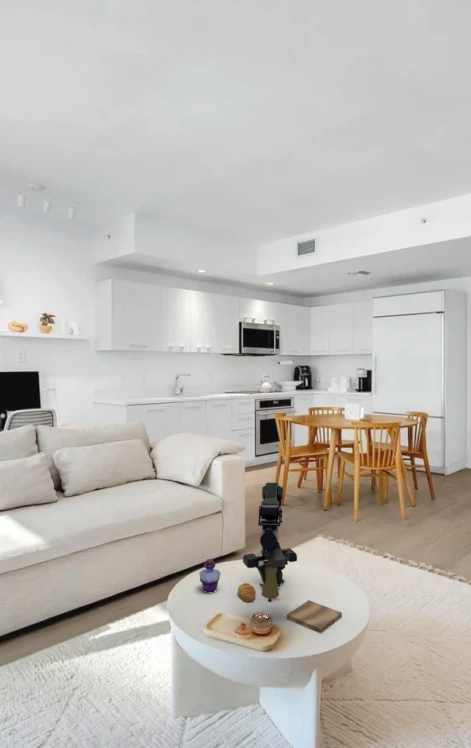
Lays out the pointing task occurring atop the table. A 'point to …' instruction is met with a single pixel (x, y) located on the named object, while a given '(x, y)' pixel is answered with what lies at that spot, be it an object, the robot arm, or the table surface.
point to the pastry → (246, 592)
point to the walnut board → (314, 616)
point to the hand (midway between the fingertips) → (270, 581)
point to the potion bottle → (209, 576)
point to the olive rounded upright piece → (270, 582)
